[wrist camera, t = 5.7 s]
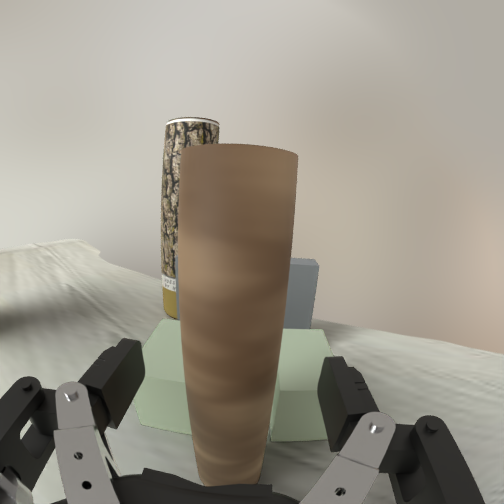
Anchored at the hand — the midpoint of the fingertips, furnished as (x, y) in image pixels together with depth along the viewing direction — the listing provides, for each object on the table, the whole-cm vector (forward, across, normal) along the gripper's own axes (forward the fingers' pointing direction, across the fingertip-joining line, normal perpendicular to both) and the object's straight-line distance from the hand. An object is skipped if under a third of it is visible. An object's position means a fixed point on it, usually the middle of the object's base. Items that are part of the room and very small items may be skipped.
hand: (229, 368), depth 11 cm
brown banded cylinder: (0, 0, +10) cm, 10 cm away
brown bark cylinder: (+24, +8, +10) cm, 27 cm away
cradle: (+8, 0, +10) cm, 12 cm away
